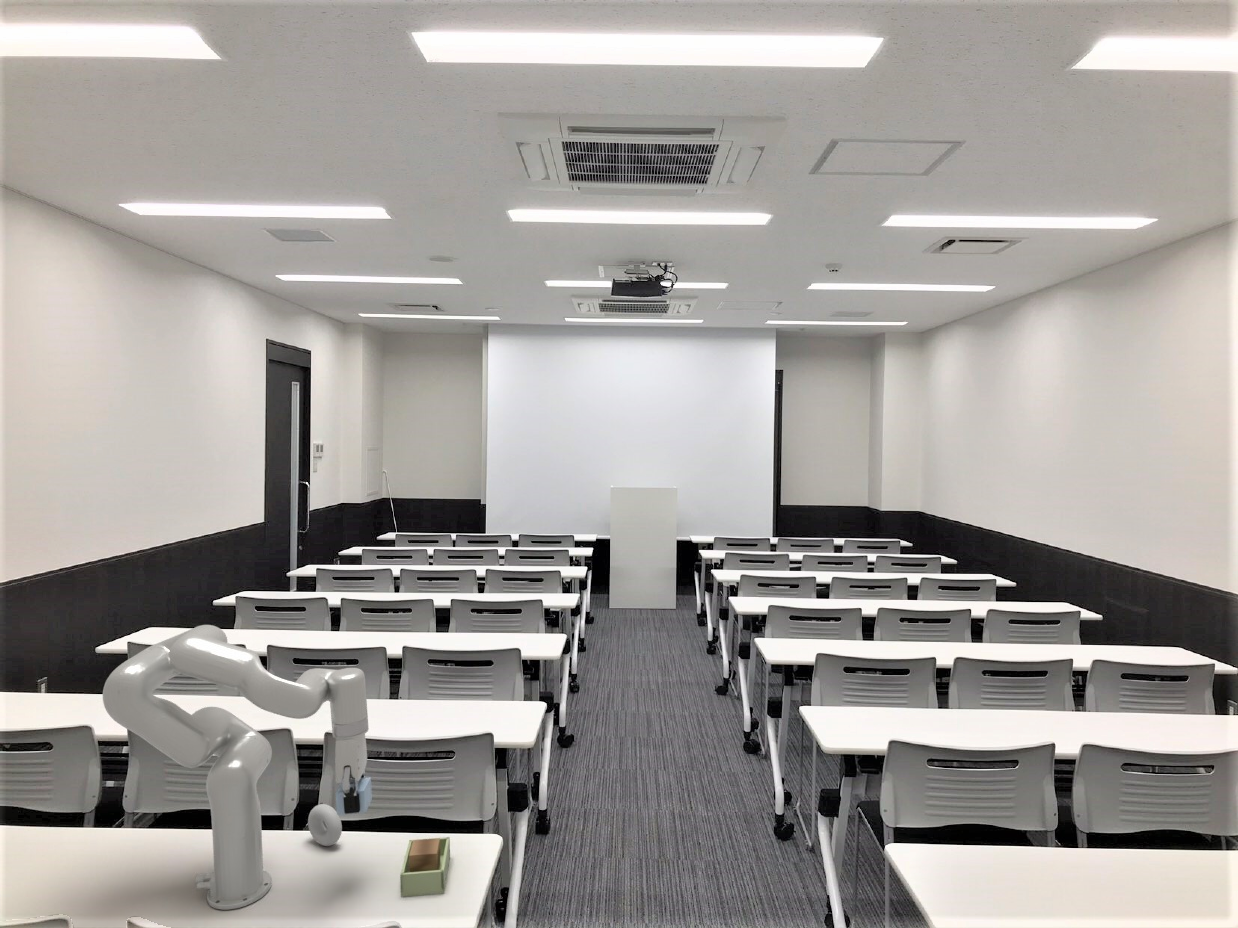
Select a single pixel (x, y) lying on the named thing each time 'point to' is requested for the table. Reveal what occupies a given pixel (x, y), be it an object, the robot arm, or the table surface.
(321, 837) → the donut
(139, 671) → the robot arm
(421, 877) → the box
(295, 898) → the table surface
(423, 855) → the walnut block
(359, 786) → the blue carton
